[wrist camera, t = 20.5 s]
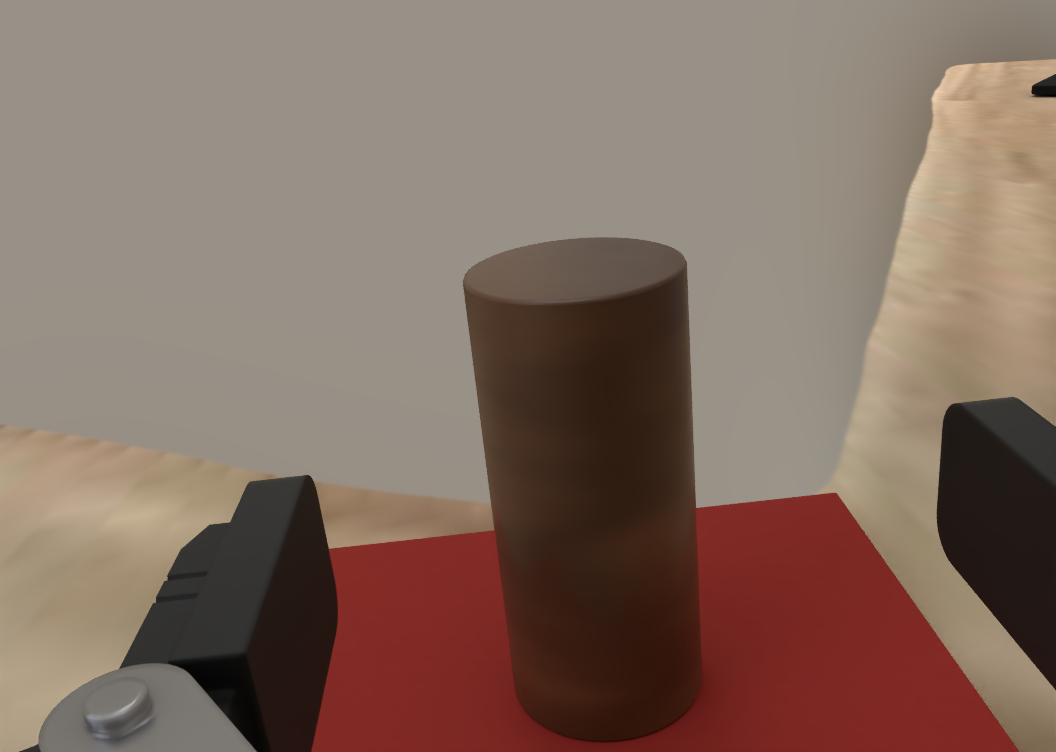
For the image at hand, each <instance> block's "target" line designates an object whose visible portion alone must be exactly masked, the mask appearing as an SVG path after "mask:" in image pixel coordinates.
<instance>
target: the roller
mask: <svg viewBox="0 0 1056 752" xmlns="http://www.w3.org/2000/svg"><path fill="white" fill-rule="evenodd" d="M463 287H464V294H465V302H466V310H467V318H468V326H469V334H470V341H471V349H472V357H473V365H474V373H475V381H476V387H477V396H478V404H479V412H480V420H481V428H482V435H483V443H484V451H485V458H486V467H487V475H488V482H489V490H490V498H491V506H492V514H493V522H494V529H495V537H496V545H497V553H498V561H499V568H500V576H501V584H502V592H503V600H504V608H505V615H506V623H507V631H508V639H509V647H510V654H511V662H512V670H513V678H514V685H515V691H516V694H517V697H518V699H519V701H520V703H521V704H522V706H523V707H524V709H525V710H526V711H527V712H528V714H529V715H530V716H531V717H533V718H534V719H535V720H536V721H537V722H538V723H540V724H542V725H543V726H545V727H546V728H548V729H550V730H552V731H554V732H556V733H559V734H562V735H564V736H567V737H571V738H575V739H580V740H587V741H597V742H611V741H623V740H629V739H634V738H638V737H642V736H645V735H648V734H651V733H653V732H656V731H658V730H660V729H662V728H664V727H666V726H668V725H669V724H671V723H672V722H674V721H676V720H677V719H678V718H679V717H680V716H682V715H683V714H684V713H685V712H686V711H687V710H688V708H689V707H690V706H691V705H692V703H693V702H694V700H695V698H696V697H697V695H698V692H699V689H700V687H701V681H702V659H701V632H700V606H699V579H698V552H697V525H696V498H695V472H694V445H693V418H692V392H691V364H690V337H689V313H688V312H689V311H688V285H687V262H686V260H685V258H684V256H683V255H682V254H681V253H680V252H679V251H677V250H676V249H674V248H672V247H669V246H666V245H663V244H660V243H655V242H651V241H645V240H638V239H629V238H580V239H579V238H578V239H568V240H558V241H551V242H544V243H539V244H533V245H528V246H525V247H520V248H516V249H512V250H509V251H506V252H503V253H500V254H497V255H494V256H492V257H490V258H487V259H485V260H483V261H481V262H479V263H477V264H476V265H474V266H473V267H472V268H471V269H469V270H468V272H467V273H466V274H465V277H464V280H463Z"/></svg>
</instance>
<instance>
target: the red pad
mask: <svg viewBox="0 0 1056 752" xmlns="http://www.w3.org/2000/svg"><path fill="white" fill-rule="evenodd" d="M696 525H697V552H698V579H699V606H700V632H701V659H702V681H701V687H700V689H699V692H698V695H697V697H696V698H695V700H694V702H693V703H692V705H691V706H690V707H689V708H688V710H687V711H686V712H685V713H684V714H683V715H682V716H680V717H679V718H678V719H677V720H676V721H674V722H672V723H671V724H669V725H668V726H666V727H664V728H662V729H660V730H658V731H656V732H653V733H651V734H648V735H645V736H642V737H638V738H634V739H629V740H623V741H611V742H597V741H587V740H580V739H575V738H571V737H567V736H564V735H562V734H559V733H556V732H554V731H552V730H550V729H548V728H546V727H545V726H543V725H542V724H540V723H538V722H537V721H536V720H535V719H534V718H533V717H531V716H530V715H529V714H528V712H527V711H526V710H525V709H524V707H523V706H522V704H521V703H520V701H519V699H518V697H517V694H516V691H515V685H514V678H513V670H512V662H511V654H510V647H509V639H508V631H507V623H506V615H505V608H504V600H503V592H502V584H501V576H500V568H499V561H498V553H497V545H496V537H495V531H486V532H477V533H468V534H459V535H450V536H441V537H432V538H423V539H414V540H405V541H396V542H387V543H378V544H369V545H360V546H351V547H342V548H333V549H329V553H330V558H331V563H332V568H333V573H334V577H335V583H336V590H337V601H338V624H337V632H336V637H335V642H334V646H333V651H332V656H331V661H330V665H329V670H328V675H327V680H326V684H325V689H324V694H323V699H322V703H321V708H320V713H319V718H318V723H317V727H316V732H315V737H314V742H313V746H312V751H311V752H1019V751H1018V749H1017V748H1016V746H1015V745H1014V743H1013V742H1012V741H1011V739H1010V738H1009V736H1008V735H1007V734H1006V732H1005V731H1004V729H1003V728H1002V726H1001V725H1000V724H999V722H998V721H997V719H996V718H995V717H994V715H993V714H992V712H991V711H990V710H989V708H988V707H987V705H986V704H985V702H984V701H983V700H982V698H981V697H980V695H979V694H978V693H977V691H976V690H975V688H974V687H973V685H972V684H971V683H970V681H969V680H968V678H967V677H966V676H965V674H964V673H963V671H962V670H961V669H960V667H959V666H958V664H957V663H956V661H955V660H954V659H953V657H952V656H951V654H950V653H949V652H948V650H947V649H946V647H945V646H944V644H943V643H942V642H941V640H940V639H939V637H938V636H937V635H936V633H935V632H934V630H933V629H932V628H931V626H930V625H929V623H928V622H927V620H926V619H925V618H924V616H923V615H922V613H921V612H920V611H919V609H918V608H917V606H916V605H915V603H914V602H913V601H912V599H911V598H910V596H909V595H908V594H907V592H906V591H905V589H904V588H903V587H902V585H901V584H900V582H899V581H898V579H897V578H896V577H895V575H894V574H893V572H892V571H891V570H890V568H889V567H888V565H887V564H886V562H885V561H884V560H883V558H882V557H881V555H880V554H879V553H878V551H877V550H876V548H875V547H874V546H873V544H872V543H871V541H870V540H869V538H868V537H867V536H866V534H865V533H864V531H863V530H862V529H861V527H860V526H859V524H858V523H857V521H856V520H855V519H854V517H853V516H852V514H851V513H850V512H849V510H848V509H847V507H846V506H845V504H844V503H843V502H842V500H841V499H840V497H839V496H838V495H837V493H828V494H819V495H810V496H802V497H792V498H785V499H775V500H765V501H757V502H748V503H738V504H729V505H721V506H712V507H703V508H696Z"/></svg>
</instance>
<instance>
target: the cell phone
mask: <svg viewBox="0 0 1056 752" xmlns="http://www.w3.org/2000/svg"><path fill="white" fill-rule="evenodd" d="M1031 93H1032V94H1035V95H1056V74H1055V75H1053V76H1051V77H1049V78H1046V79H1044V80H1042V81H1040V82H1038V83H1036V84H1034V85H1033V86H1032V91H1031Z"/></svg>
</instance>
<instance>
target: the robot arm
mask: <svg viewBox="0 0 1056 752" xmlns="http://www.w3.org/2000/svg"><path fill="white" fill-rule="evenodd" d="M937 526H938V532H939V537H940V541H941V544H942V547H943V550H944V552H945V554H946V556H947V558H948V560H949V561H950V563H951V564H952V565H953V566H954V568H955V569H956V570H957V571H958V572H959V574H960V575H961V576H962V577H963V579H964V580H965V581H966V582H967V583H968V585H969V586H970V587H971V588H972V589H973V591H974V592H975V593H976V594H977V595H978V597H979V598H980V599H981V600H982V601H983V603H984V604H985V605H986V606H987V608H988V609H989V610H990V611H991V612H992V614H993V615H994V616H995V617H996V618H997V620H998V621H999V622H1000V623H1001V624H1002V626H1003V627H1004V628H1005V629H1006V631H1007V632H1008V633H1009V634H1010V635H1011V637H1012V638H1013V639H1014V640H1015V641H1016V643H1017V644H1018V645H1019V646H1020V647H1021V649H1022V650H1023V651H1024V652H1025V653H1026V655H1027V656H1028V657H1029V658H1030V660H1031V661H1032V662H1033V663H1034V664H1035V666H1036V667H1037V668H1038V669H1039V670H1040V672H1041V673H1042V674H1043V675H1044V676H1045V678H1046V679H1047V680H1048V681H1049V683H1050V684H1051V685H1052V686H1053V687H1054V689H1055V690H1056V427H1055V426H1054V425H1052V424H1051V423H1050V422H1048V421H1047V420H1046V419H1045V418H1043V417H1042V416H1041V415H1039V414H1038V413H1037V412H1035V411H1034V410H1033V409H1031V408H1030V407H1029V406H1027V405H1026V404H1025V403H1023V402H1022V401H1021V400H1019V399H1017V398H1014V397H1008V398H999V399H990V400H982V401H973V402H964V403H955V404H952V405H951V406H950V407H949V408H948V409H947V411H946V413H945V416H944V420H943V428H942V443H941V458H940V472H939V487H938V502H937ZM167 577H168V581H164V583H163V585H162V587H161V589H160V591H159V593H158V595H157V597H156V603H153V604H152V606H151V608H150V610H149V612H148V614H147V616H146V618H145V620H144V622H143V624H142V626H141V628H140V630H139V632H138V633H137V635H136V637H135V639H134V641H133V643H132V645H131V647H130V649H129V651H128V653H127V655H126V657H125V659H124V661H123V663H122V664H121V666H120V668H119V669H118V670H115V671H112V672H109V673H106V674H104V675H102V676H99V677H97V678H95V679H93V680H91V681H89V682H88V683H86V684H84V685H82V686H81V687H79V688H78V689H76V690H75V691H73V692H72V693H70V694H69V695H68V696H67V697H65V698H64V699H63V700H62V701H61V702H60V703H59V704H58V705H57V706H56V707H55V708H54V709H53V710H52V711H51V713H50V714H49V715H48V717H47V718H46V719H45V721H44V723H43V725H42V727H41V730H40V733H39V744H38V745H35V746H33V747H31V748H28V749H25V750H23V751H20V752H311V751H312V746H313V742H314V737H315V732H316V727H317V723H318V718H319V713H320V708H321V703H322V699H323V694H324V689H325V684H326V680H327V675H328V670H329V665H330V661H331V656H332V651H333V646H334V642H335V637H336V632H337V624H338V601H337V590H336V583H335V577H334V573H333V568H332V563H331V558H330V553H329V548H328V543H327V538H326V534H325V529H324V524H323V519H322V514H321V509H320V504H319V499H318V495H317V490H316V487H315V484H314V481H313V479H312V478H311V476H309V475H304V476H295V477H286V478H278V479H269V480H260V481H251V482H249V483H248V485H247V486H246V489H245V491H244V493H243V495H242V497H241V500H240V502H239V504H238V506H237V508H236V511H235V513H234V515H233V517H232V520H231V522H230V523H222V524H213V525H209V526H208V527H206V528H205V529H204V530H203V531H202V532H201V533H199V534H198V535H197V536H196V537H195V538H194V539H193V540H191V541H190V542H189V543H188V544H187V545H186V546H184V547H183V548H182V549H181V550H180V552H179V554H178V556H177V558H176V560H175V562H174V564H173V566H172V568H171V570H170V572H169V573H168V575H167Z"/></svg>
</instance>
